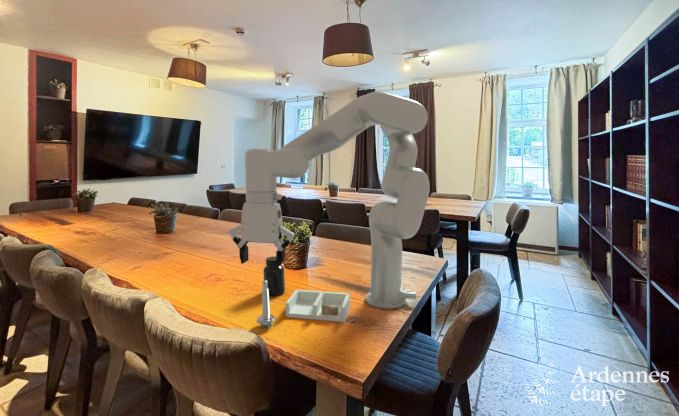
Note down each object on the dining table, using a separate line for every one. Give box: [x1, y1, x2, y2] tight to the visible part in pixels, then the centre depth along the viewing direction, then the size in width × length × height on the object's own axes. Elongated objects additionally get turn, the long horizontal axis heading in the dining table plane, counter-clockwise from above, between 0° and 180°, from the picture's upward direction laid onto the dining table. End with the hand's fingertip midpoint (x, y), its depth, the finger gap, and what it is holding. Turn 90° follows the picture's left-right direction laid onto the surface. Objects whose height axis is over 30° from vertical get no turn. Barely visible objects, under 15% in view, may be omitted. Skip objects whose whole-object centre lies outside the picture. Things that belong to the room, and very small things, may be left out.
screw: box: [256, 279, 276, 329], centre depth 89 cm, size 13×5×5 cm
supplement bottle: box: [263, 256, 286, 297], centre depth 111 cm, size 7×7×12 cm
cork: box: [322, 305, 339, 315], centre depth 94 cm, size 4×2×2 cm
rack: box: [285, 289, 351, 323], centre depth 98 cm, size 17×10×4 cm, turn 80°
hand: (262, 263), depth 87 cm, fingers open, 9 cm apart
